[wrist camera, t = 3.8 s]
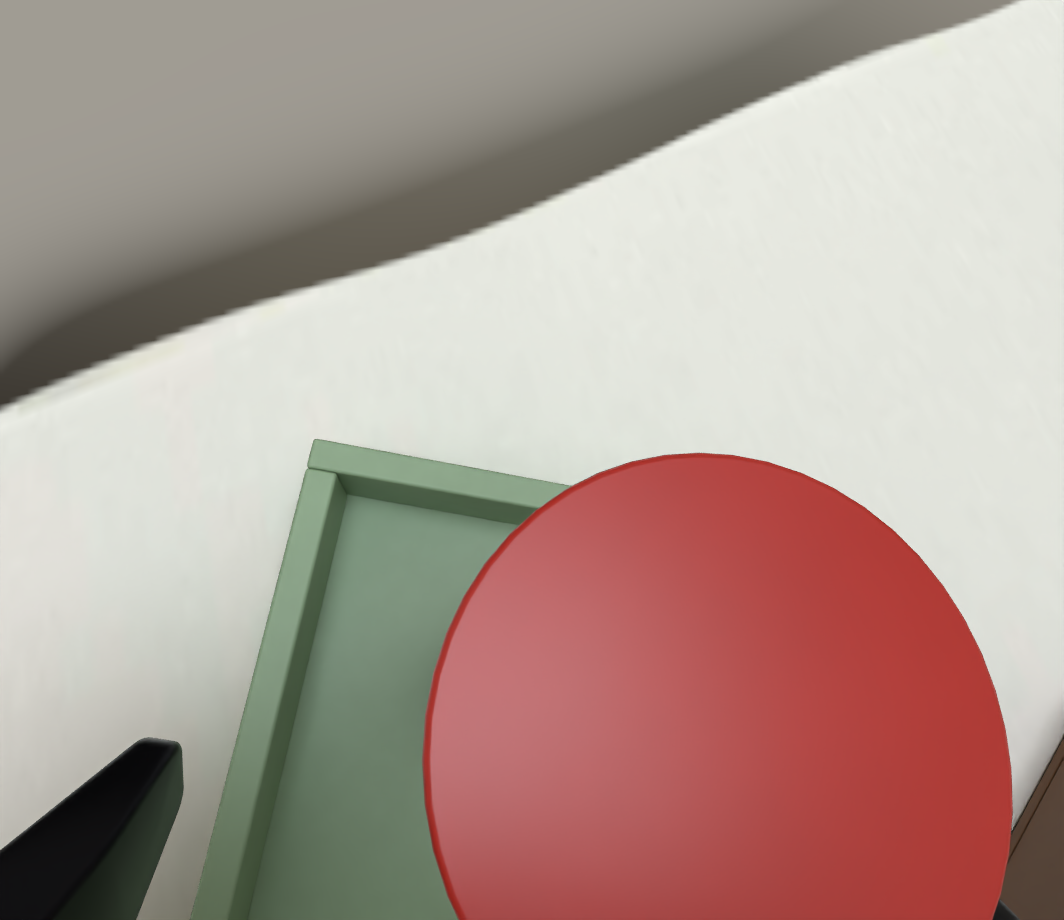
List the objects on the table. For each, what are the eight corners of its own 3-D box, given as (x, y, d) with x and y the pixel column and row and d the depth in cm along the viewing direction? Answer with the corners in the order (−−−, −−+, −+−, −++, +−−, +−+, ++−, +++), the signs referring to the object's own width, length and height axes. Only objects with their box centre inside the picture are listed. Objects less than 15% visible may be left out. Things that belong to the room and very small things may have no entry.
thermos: (455, 790, 17) (529, 1246, 4) (415, 637, 18) (353, 533, 4) (600, 740, 18) (1121, 959, 4) (555, 595, 18) (872, 395, 5)
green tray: (679, 1263, 15) (724, 1372, 13) (145, 1207, 14) (87, 1314, 12) (733, 540, 20) (774, 522, 17) (328, 466, 19) (313, 437, 16)
